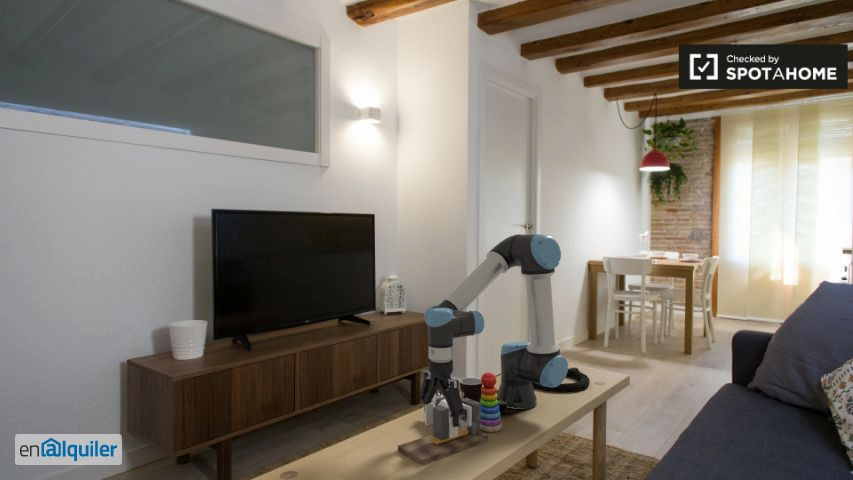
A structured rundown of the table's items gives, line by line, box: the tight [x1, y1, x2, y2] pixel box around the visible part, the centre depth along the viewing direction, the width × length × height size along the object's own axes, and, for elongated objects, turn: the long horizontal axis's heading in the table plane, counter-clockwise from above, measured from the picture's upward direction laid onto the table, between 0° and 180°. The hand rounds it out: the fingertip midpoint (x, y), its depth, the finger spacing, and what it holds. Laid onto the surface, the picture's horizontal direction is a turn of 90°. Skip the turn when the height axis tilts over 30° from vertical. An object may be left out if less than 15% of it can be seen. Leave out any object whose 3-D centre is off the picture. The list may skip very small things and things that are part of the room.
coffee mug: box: [458, 377, 483, 404], centre depth 188 cm, size 12×9×10 cm
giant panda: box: [431, 391, 455, 416], centre depth 176 cm, size 15×6×10 cm, turn 27°
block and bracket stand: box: [430, 403, 472, 445], centre depth 158 cm, size 13×6×10 cm, turn 128°
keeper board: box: [397, 398, 489, 466], centre depth 157 cm, size 26×12×12 cm, turn 128°
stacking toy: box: [480, 371, 503, 433], centre depth 170 cm, size 8×8×19 cm
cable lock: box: [532, 367, 590, 393], centre depth 221 cm, size 28×4×30 cm
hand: (441, 430), depth 156 cm, fingers open, 11 cm apart
